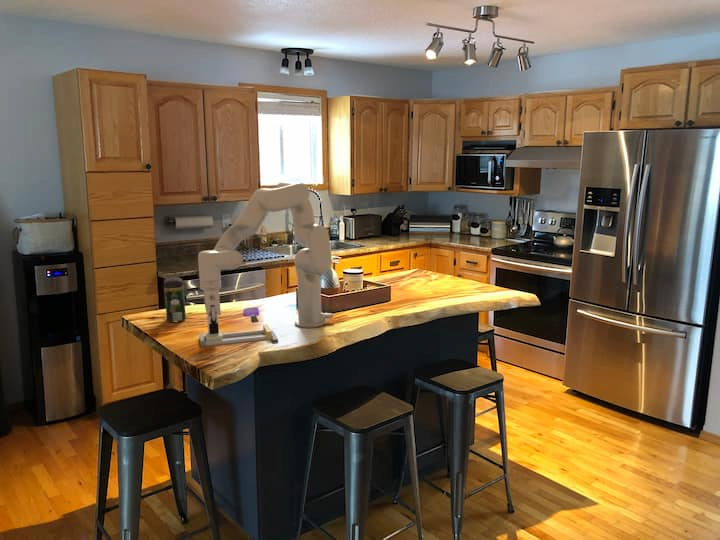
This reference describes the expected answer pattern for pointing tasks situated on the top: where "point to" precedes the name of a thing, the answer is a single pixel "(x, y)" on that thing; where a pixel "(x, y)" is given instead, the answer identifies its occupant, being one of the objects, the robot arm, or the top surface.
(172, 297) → the coffee jar
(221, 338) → the keeper
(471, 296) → the top surface
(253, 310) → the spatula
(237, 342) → the track
